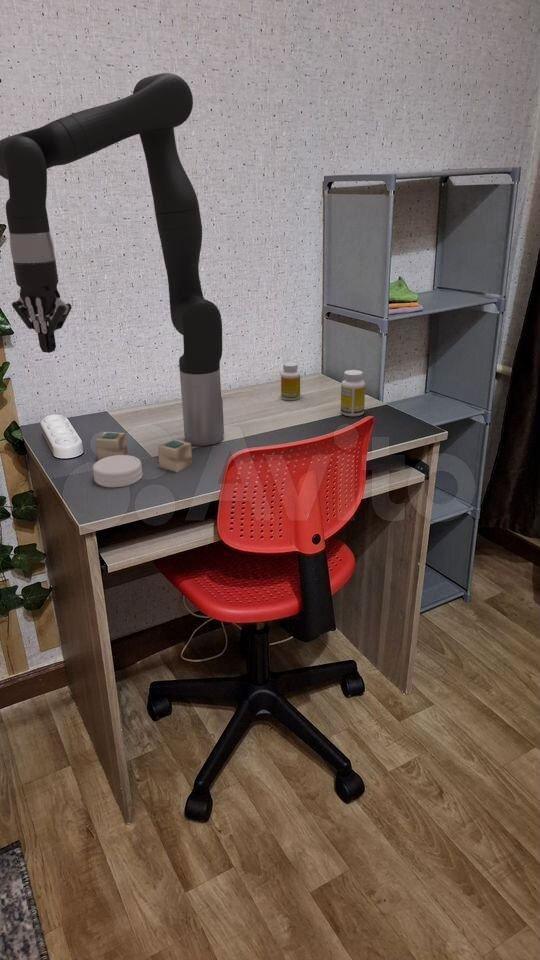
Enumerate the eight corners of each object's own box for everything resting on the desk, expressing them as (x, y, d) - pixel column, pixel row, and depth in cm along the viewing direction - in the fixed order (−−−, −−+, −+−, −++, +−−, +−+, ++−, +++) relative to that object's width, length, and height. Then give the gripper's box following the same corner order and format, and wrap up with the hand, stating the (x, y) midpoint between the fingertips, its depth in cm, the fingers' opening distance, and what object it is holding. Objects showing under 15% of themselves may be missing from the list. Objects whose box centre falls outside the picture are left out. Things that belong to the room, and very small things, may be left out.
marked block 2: (175, 459, 150) (173, 437, 148) (192, 464, 148) (190, 442, 145) (159, 467, 146) (157, 444, 144) (177, 472, 144) (175, 449, 142)
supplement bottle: (300, 400, 186) (300, 366, 182) (281, 401, 186) (280, 366, 182) (299, 394, 191) (300, 361, 187) (281, 395, 191) (280, 361, 187)
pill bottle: (363, 409, 179) (365, 369, 174) (364, 417, 173) (366, 375, 168) (340, 409, 179) (341, 368, 175) (340, 416, 174) (341, 375, 169)
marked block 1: (107, 452, 155) (104, 430, 153) (127, 453, 154) (125, 431, 152) (98, 460, 150) (95, 438, 148) (119, 461, 150) (117, 439, 147)
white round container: (124, 465, 148) (123, 450, 147) (152, 477, 142) (150, 462, 140) (85, 479, 142) (83, 464, 140) (112, 493, 135) (110, 477, 134)
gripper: (76, 257, 124) (88, 350, 131) (20, 255, 129) (35, 344, 136) (48, 262, 118) (62, 359, 125) (-9, 259, 123) (8, 353, 130)
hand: (48, 351), depth 131 cm, fingers closed
